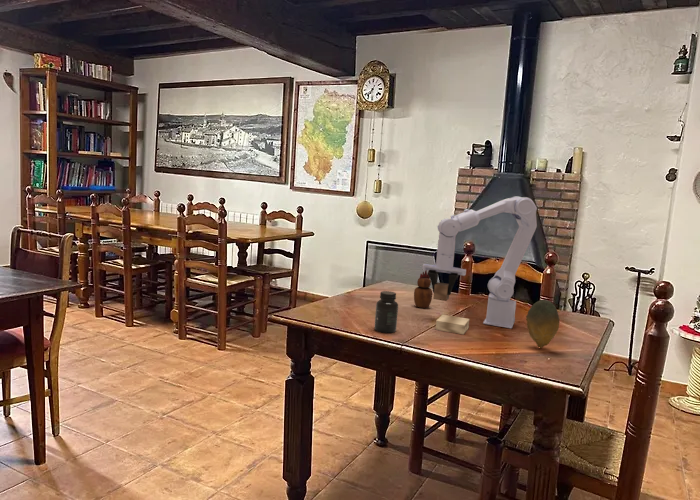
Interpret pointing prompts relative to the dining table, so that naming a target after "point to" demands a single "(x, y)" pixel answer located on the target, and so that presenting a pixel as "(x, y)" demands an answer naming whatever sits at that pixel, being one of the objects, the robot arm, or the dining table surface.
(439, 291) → the walnut block
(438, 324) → the base block
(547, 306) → the mango
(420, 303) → the wooden figurine
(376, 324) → the supplement bottle
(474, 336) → the dining table surface
